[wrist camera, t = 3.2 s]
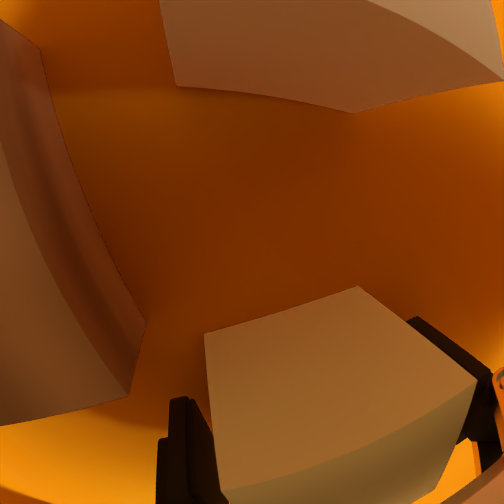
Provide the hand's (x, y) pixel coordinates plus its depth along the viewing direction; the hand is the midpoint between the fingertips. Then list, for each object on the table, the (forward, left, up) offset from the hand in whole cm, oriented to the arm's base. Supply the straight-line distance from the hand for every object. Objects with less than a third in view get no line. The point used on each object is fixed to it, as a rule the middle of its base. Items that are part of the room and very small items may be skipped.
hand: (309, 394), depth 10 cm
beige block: (0, 0, -1) cm, 1 cm away
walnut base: (+10, -8, -2) cm, 13 cm away
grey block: (-2, -12, -1) cm, 12 cm away
